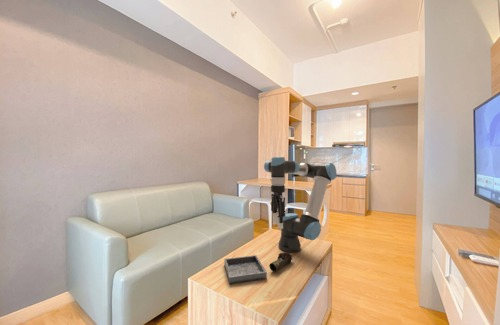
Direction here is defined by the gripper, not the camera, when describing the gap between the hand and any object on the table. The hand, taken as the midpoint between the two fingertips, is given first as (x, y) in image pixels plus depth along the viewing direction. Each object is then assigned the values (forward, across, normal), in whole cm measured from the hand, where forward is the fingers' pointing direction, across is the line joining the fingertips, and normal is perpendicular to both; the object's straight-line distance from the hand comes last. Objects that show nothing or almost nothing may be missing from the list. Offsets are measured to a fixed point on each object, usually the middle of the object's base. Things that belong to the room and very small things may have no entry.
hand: (277, 226), depth 110 cm
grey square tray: (+24, -3, -18) cm, 30 cm away
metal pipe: (+27, 0, -1) cm, 27 cm away
